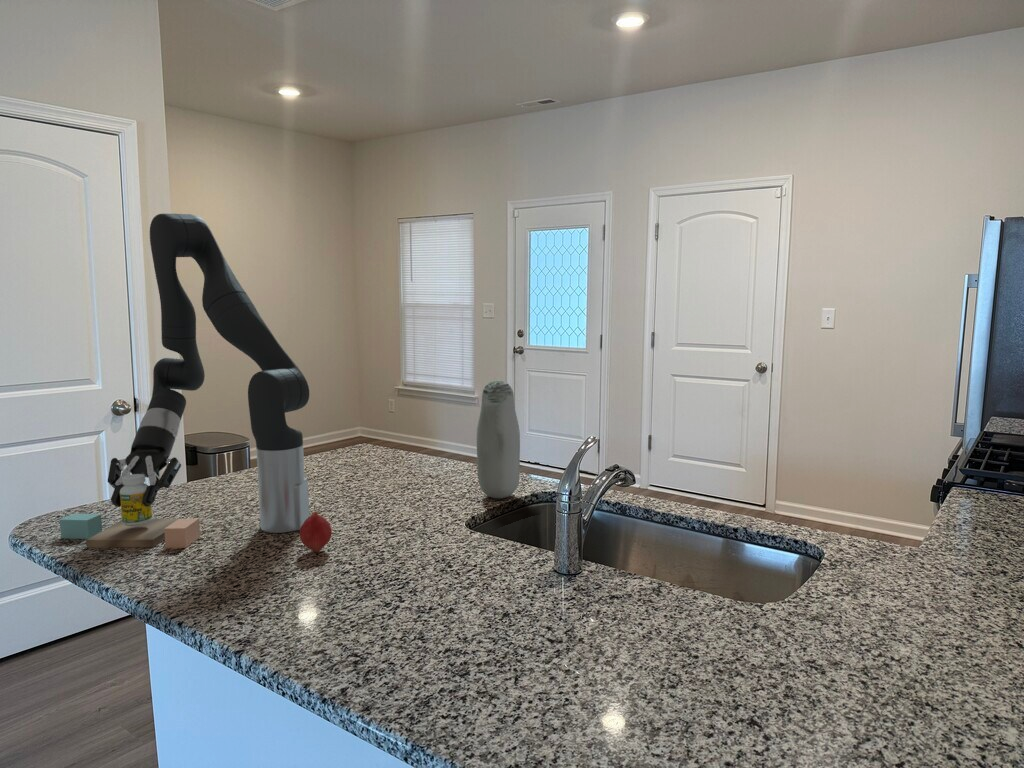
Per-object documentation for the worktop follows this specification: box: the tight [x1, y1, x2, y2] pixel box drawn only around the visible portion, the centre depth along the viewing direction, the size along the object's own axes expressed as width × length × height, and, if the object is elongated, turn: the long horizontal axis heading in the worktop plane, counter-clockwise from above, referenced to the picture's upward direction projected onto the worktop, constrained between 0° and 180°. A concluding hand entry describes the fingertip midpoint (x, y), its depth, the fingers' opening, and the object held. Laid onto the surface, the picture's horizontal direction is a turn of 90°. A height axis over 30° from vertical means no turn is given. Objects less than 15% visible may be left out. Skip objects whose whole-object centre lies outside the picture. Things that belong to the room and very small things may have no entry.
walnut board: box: [85, 517, 186, 549], centre depth 139 cm, size 13×13×2 cm
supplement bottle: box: [120, 474, 153, 526], centre depth 138 cm, size 5×5×10 cm
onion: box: [299, 510, 332, 553], centre depth 129 cm, size 6×6×8 cm
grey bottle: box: [476, 380, 521, 500], centre depth 163 cm, size 10×10×28 cm
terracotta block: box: [164, 518, 201, 549], centre depth 135 cm, size 6×4×4 cm, turn 0°
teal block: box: [59, 513, 103, 540], centre depth 140 cm, size 6×4×4 cm, turn 84°
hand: (131, 504), depth 137 cm, fingers closed on supplement bottle, 5 cm apart
